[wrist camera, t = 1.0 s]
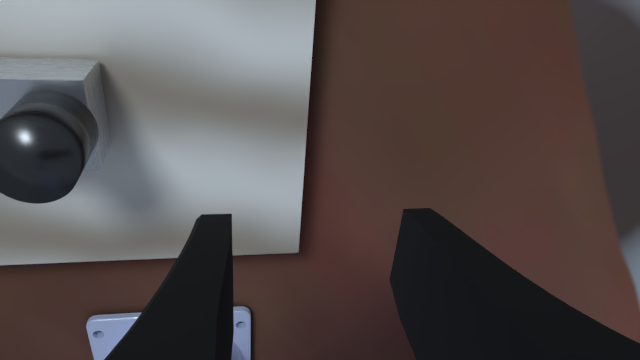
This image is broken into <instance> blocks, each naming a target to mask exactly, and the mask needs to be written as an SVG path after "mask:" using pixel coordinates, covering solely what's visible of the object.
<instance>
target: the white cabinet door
mask: <svg viewBox="0 0 640 360" xmlns="http://www.w3.org/2000/svg"><path fill="white" fill-rule="evenodd" d="M315 6H316V0H0V57H13V58H51V59H89V60H99V65H100V72H101V78H102V84H103V91H104V97H105V103H106V110H107V116H108V123H109V129H110V135H111V142H112V144H111V146H110V148H109V150H108V152H107V154H106V157H105V159H104V161H103V163H102V165H101V167H100V170H99V171H82V173H81V175H80V177H79V179H78V181H77V183H76V185H75V186H74V188H73V189H72V190H71V192H70V193H68V194H67V195H66V196H64V197H63V198H61V199H59V200H56V201H53V202H49V203H41V204H35V203H26V202H21V201H18V200H14V199H12V198H10V197H7V196H5V195H4V194H2V193H0V265H19V264H42V263H66V262H90V261H114V260H137V259H161V258H178V256H179V255H180V253H181V251H182V249H183V247H184V245H185V243H186V242H187V240H188V238H189V235H190V233H191V231H192V229H193V226H194V224H195V221H196V219H197V218H198V217H199V216H200V215H202V214H232V254H233V255H256V254H280V253H299V238H300V224H301V209H302V194H303V180H304V165H305V151H306V136H307V122H308V107H309V93H310V78H311V64H312V49H313V35H314V20H315Z"/></svg>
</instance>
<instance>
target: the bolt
mask: <svg viewBox="0 0 640 360" xmlns="http://www.w3.org/2000/svg"><path fill="white" fill-rule="evenodd" d="M111 144H112V142H111V135H110V129H109V123H108V116H107V110H106V103H105V97H104V91H103V84H102V78H101V72H100V65H99V60H89V59H51V58H13V57H0V193H2V194H4V195H5V196H7V197H10V198H12V199H14V200H18V201H21V202H26V203H35V204H41V203H49V202H53V201H56V200H59V199H61V198H63V197H64V196H66V195H67V194H68V193H70V192H71V190H72V189H73V188H74V186H75V185H76V183H77V181H78V179H79V177H80V175H81V173H82V171H99V170H100V167H101V165H102V163H103V161H104V159H105V157H106V154H107V152H108V150H109V148H110V146H111Z"/></svg>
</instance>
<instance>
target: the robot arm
mask: <svg viewBox="0 0 640 360" xmlns="http://www.w3.org/2000/svg"><path fill="white" fill-rule="evenodd" d="M390 283H391V287H392V291H393V295H394V298H395V302H396V306H397V309H398V313H399V316H400V320H401V322H402V325H403V328H404V330H405V332H406V335H407V337H408V340H409V342H410V345H411V347H412V349H413V352H414V354H415V357H416V359H417V360H640V344H639V343H637V342H635V341H633V340H631V339H629V338H627V337H625V336H623V335H621V334H620V333H618V332H616V331H614V330H612V329H610V328H608V327H606V326H604V325H603V324H601V323H599V322H597V321H596V320H594V319H592V318H590V317H589V316H587V315H585V314H583V313H582V312H580V311H578V310H576V309H575V308H573V307H571V306H569V305H568V304H566V303H564V302H563V301H561V300H560V299H558V298H556V297H555V296H553V295H551V294H550V293H548V292H547V291H545V290H544V289H542V288H541V287H539V286H538V285H536V284H535V283H533V282H532V281H530V280H529V279H527V278H526V277H524V276H523V275H521V274H520V273H518V272H517V271H516V270H514V269H513V268H511V267H510V266H508V265H507V264H506V263H504V262H503V261H501V260H500V259H499V258H497V257H496V256H495V255H493V254H492V253H490V252H489V251H488V250H486V249H485V248H484V247H482V246H481V245H480V244H478V243H477V242H476V241H474V240H473V239H472V238H470V237H469V236H468V235H466V234H465V233H464V232H462V231H461V230H460V229H458V228H457V227H456V226H454V225H453V224H452V223H450V222H449V221H448V220H446V219H445V218H444V217H442V216H441V215H439V214H438V213H437V212H435V211H434V210H432V209H430V208H421V209H404V210H403V215H402V220H401V225H400V230H399V235H398V240H397V246H396V251H395V256H394V261H393V266H392V271H391V276H390ZM238 322H243V323H238ZM86 328H87V332H88V337H89V341H90V345H91V349H92V353H93V358H94V360H251V312H250V310H249V309H248V308H247V307H243V306H238V307H233V254H232V214H202V215H200V216H199V217H198V218H197V219H196V221H195V224H194V226H193V229H192V231H191V233H190V235H189V238H188V240H187V242H186V243H185V245H184V247H183V249H182V251H181V253H180V255H179V256H178V258H177V260H176V261H175V263H174V265H173V266H172V268H171V270H170V271H169V273H168V275H167V276H166V278H165V280H164V281H163V283H162V284H161V286H160V287H159V289H158V290H157V292H156V293H155V294H154V296H153V297H152V299H151V300H150V302H149V303H148V304H147V306H146V307H145V309H144V310H143V311H142V312H138V313H122V314H105V315H95V316H92V317H90V318H89V319H88V322H87V325H86ZM97 331H101V332H97Z"/></svg>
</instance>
